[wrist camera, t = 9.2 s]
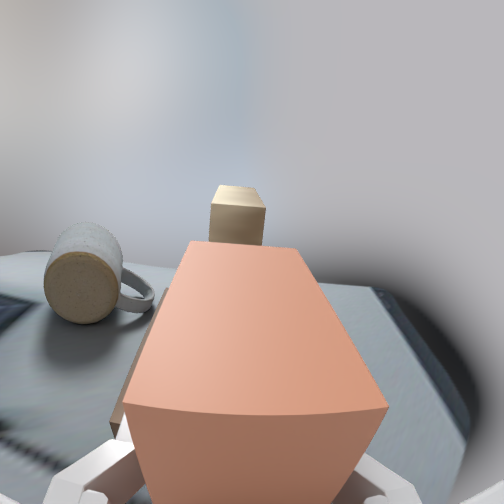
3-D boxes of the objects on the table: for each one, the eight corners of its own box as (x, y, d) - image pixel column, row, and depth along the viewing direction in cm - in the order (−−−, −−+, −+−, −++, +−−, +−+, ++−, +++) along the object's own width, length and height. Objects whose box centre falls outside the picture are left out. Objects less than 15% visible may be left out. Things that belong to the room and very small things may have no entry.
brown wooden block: (116, 443, 13) (75, 228, 10) (166, 306, 30) (168, 181, 26) (330, 454, 14) (400, 253, 11) (287, 314, 31) (305, 193, 27)
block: (184, 571, 6) (121, 402, 3) (192, 454, 12) (191, 240, 9) (270, 573, 6) (389, 406, 3) (258, 457, 12) (296, 248, 9)
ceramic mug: (47, 331, 22) (34, 246, 20) (58, 291, 29) (52, 222, 27) (160, 326, 26) (161, 243, 24) (149, 288, 33) (150, 220, 31)
